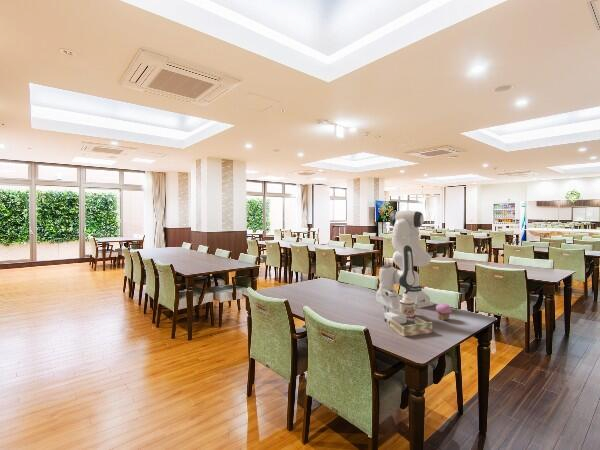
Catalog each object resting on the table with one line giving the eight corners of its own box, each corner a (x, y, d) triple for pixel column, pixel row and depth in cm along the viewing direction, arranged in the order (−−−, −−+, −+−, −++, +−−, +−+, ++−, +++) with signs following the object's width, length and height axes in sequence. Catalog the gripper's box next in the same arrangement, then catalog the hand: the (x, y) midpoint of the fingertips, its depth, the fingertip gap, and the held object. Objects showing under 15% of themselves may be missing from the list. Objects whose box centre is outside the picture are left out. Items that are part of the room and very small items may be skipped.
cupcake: (445, 316, 200) (445, 301, 199) (454, 321, 191) (454, 304, 191) (433, 317, 198) (432, 301, 198) (441, 322, 190) (441, 305, 189)
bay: (416, 324, 186) (416, 314, 186) (432, 332, 173) (432, 322, 173) (390, 327, 182) (389, 318, 181) (403, 336, 169) (403, 326, 168)
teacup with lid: (404, 318, 198) (404, 299, 198) (396, 313, 207) (396, 296, 207) (421, 316, 201) (421, 298, 200) (413, 312, 210) (413, 294, 209)
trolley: (398, 318, 199) (398, 310, 199) (407, 323, 190) (407, 314, 190) (382, 320, 196) (382, 312, 196) (390, 325, 187) (390, 316, 187)
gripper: (373, 287, 211) (373, 308, 211) (390, 294, 191) (391, 317, 191) (381, 287, 213) (382, 307, 213) (399, 293, 193) (400, 316, 193)
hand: (386, 312), depth 202 cm, fingers closed
